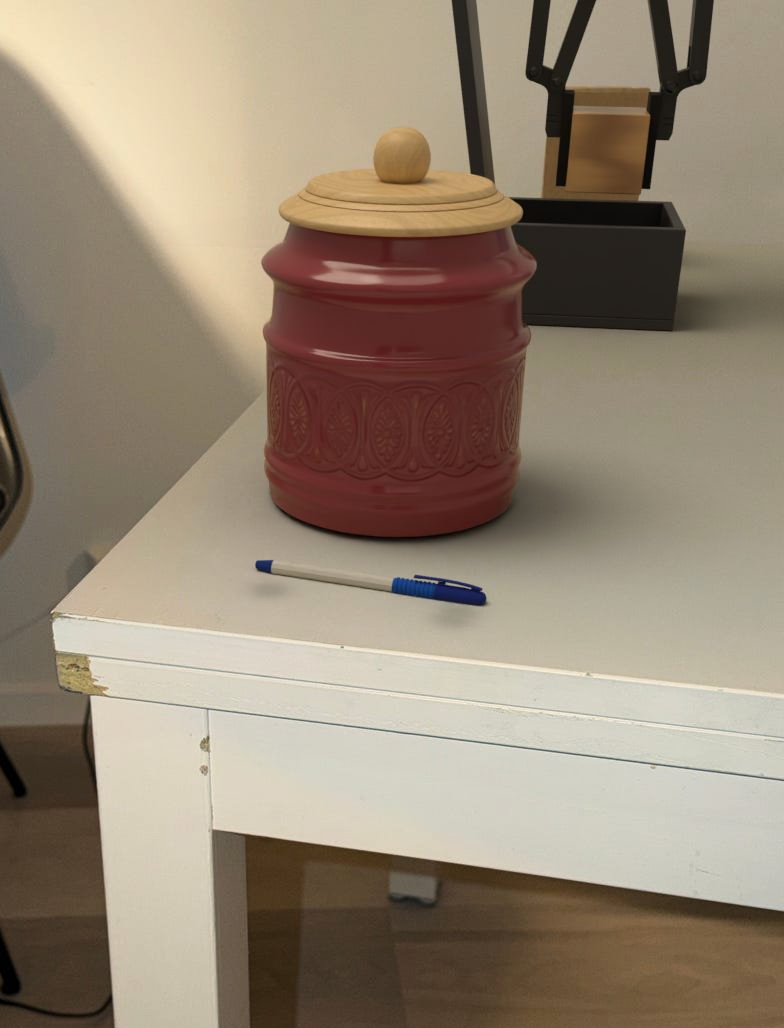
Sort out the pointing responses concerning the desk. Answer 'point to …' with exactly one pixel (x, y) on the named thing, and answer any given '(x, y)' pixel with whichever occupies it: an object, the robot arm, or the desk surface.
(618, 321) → the dark grey storage bin
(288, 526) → the desk surface
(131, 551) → the desk surface
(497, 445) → the kitchen canister
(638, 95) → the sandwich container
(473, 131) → the black box cover
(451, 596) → the ballpoint pen
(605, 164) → the block
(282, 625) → the desk surface
